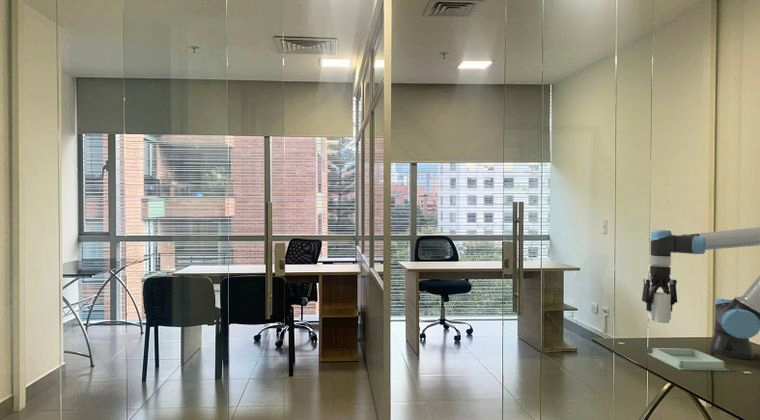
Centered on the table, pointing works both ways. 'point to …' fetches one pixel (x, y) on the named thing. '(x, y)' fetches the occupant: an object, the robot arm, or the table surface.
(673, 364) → the tray
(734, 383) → the table surface
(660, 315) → the mug
